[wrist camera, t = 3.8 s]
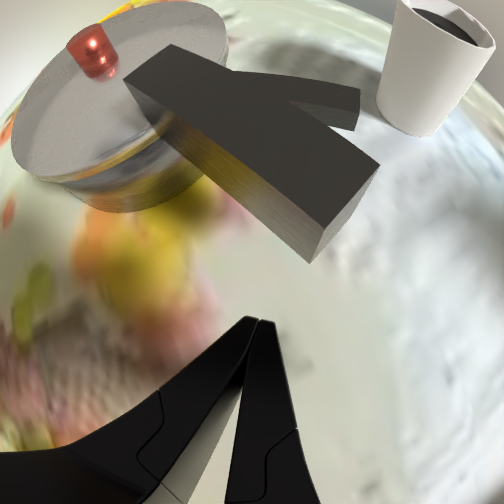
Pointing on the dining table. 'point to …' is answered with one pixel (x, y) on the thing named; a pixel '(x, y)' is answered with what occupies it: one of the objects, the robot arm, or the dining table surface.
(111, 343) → the dining table surface
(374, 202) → the dining table surface
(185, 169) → the pot
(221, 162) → the lid
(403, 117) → the white cup
